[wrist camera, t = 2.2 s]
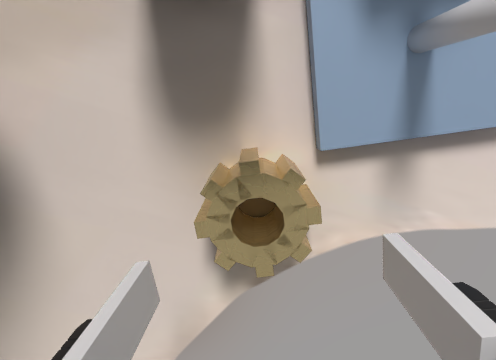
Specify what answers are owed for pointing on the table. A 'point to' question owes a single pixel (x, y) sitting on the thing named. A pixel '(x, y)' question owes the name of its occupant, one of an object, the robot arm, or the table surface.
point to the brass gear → (259, 228)
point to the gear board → (400, 69)
